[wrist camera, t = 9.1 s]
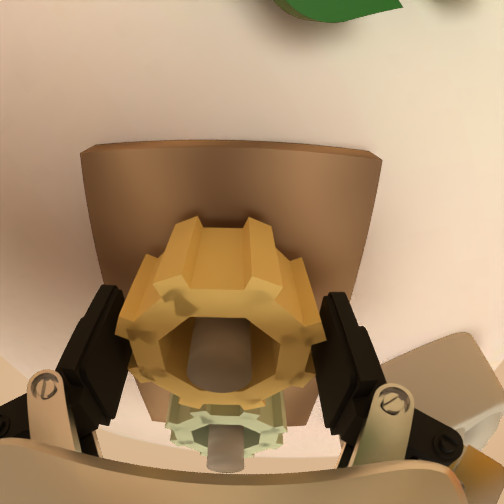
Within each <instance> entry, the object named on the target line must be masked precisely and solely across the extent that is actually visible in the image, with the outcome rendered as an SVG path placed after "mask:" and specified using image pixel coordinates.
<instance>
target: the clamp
mask: <svg viewBox="0 0 504 504" xmlns="http://www.w3.org/2000/svg"><path fill="white" fill-rule="evenodd" d="M273 1H274V2H275V3H276V4H277V5H278V6H279V7H280V8H281V9H282V10H284V11H285V12H287V13H288V14H290V15H292V16H295V17H297V18H300V19H304V20H310V21H320V22H330V23H337V22H344V21H348V20H352V19H355V18H359V17H363V16H367V15H371V14H375V13H379V12H383V11H388V10H393V9H398V8H403V6H402V5H401V3H400V2H399V0H273Z"/></svg>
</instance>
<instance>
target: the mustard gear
mask: <svg viewBox="0 0 504 504" xmlns="http://www.w3.org/2000/svg"><path fill="white" fill-rule="evenodd" d="M195 317H221V318H246V319H248V320H249V321H250V325H251V361H252V379H251V381H250V383H249V384H248V385H247V386H245V387H244V388H242V389H240V390H238V391H234V392H229V393H216V392H210V391H206V390H203V389H201V388H199V387H197V386H196V385H194V384H193V383H192V382H191V381H190V380H189V378H188V376H187V366H188V360H189V353H190V347H191V340H192V334H193V328H194V322H195ZM115 335H118V336H120V337H123V338H126V339H128V340H129V341H130V345H131V348H132V355H131V358H130V361H129V365H128V368H127V369H128V370H129V371H130V372H131V374H132V375H133V376H134V377H135V378H136V379H137V380H138V381H139V382H140V383H146V382H153V383H155V384H157V385H158V386H160V387H162V388H164V389H166V390H167V391H169V392H171V393H173V394H175V395H177V396H178V397H179V402H178V404H181V405H185V406H189V407H193V408H197V409H200V408H201V407H202V405H203V404H219V405H240V406H241V407H242V408H243V409H244V410H249V409H255V408H259V407H264V406H266V403H265V399H266V398H268V397H270V396H272V395H274V394H276V393H278V392H280V391H282V390H284V389H286V388H288V387H290V386H296V387H301V388H303V387H304V386H305V385H306V384H307V383H308V382H309V381H310V380H311V379H312V378H313V377H314V376H315V375H316V372H315V367H314V363H313V358H312V353H311V345H313V344H316V343H320V342H323V341H326V336H325V332H324V329H323V325H322V322H321V318H320V315H319V312H318V308H317V305H316V301H315V298H314V295H313V291H312V288H311V285H310V281H309V278H308V275H307V272H306V269H305V265H304V262H303V259H302V257H301V258H297V259H294V260H291V261H289V260H288V259H287V258H286V257H285V256H284V255H283V254H282V253H281V252H280V251H279V250H278V249H277V248H276V247H275V242H274V237H273V232H272V227H271V226H270V225H267V224H265V223H263V222H260V221H258V220H255V219H253V218H250V217H248V219H247V221H246V223H245V225H244V227H243V228H205V227H203V226H202V224H201V222H200V220H199V217H198V216H196V217H193V218H190V219H188V220H185V221H183V222H180V223H177V224H175V227H174V229H173V231H172V234H171V236H170V239H169V241H168V244H167V247H166V249H165V252H164V253H163V254H162V255H161V256H160V257H159V258H156V257H154V256H151V255H148V254H146V255H145V257H144V259H143V262H142V264H141V266H140V268H139V270H138V272H137V275H136V277H135V279H134V281H133V284H132V286H131V288H130V290H129V293H128V295H127V297H126V300H125V302H124V304H123V307H122V309H121V312H120V314H119V317H118V321H117V326H116V331H115Z"/></svg>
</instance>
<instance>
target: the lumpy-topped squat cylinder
mask: <svg viewBox="0 0 504 504" xmlns="http://www.w3.org/2000/svg"><path fill="white" fill-rule="evenodd" d="M381 368H382V371H383V374H384V376H385V379H386V382H387V384H389V383H394V384H399V385H401V386H404V387H405V388H406V389H408V390H409V391H410V393H411V394H412V395H413V398H414V405H415V406H414V408H416V409H418V410H420V411H421V412H423V413H425V414H427V415H429V416H431V417H432V418H434V419H436V420H438V421H440V422H442V423H444V424H445V425H447V426H449V427H451V428H453V429H454V430H456V431H457V432H458V433H459V434H460V435H461V437H462V440H463V445H465V446H468V445H471V446H472V447H474V448H475V449H477V450H479V451H481V450H482V449H483V448H484V447H485V446H486V444H487V442H488V440H489V439H490V438H491V436H492V435H493V434H494V433H495V431H496V429H497V427H498V424H499V422H500V419H501V417H502V416H503V415H504V390H503V388H502V386H501V384H500V382H499V380H498V378H497V377H496V375H495V373H494V371H493V370H492V368H491V366H490V365H489V363H488V361H487V360H486V358H485V356H484V355H483V353H482V351H481V350H480V348H479V346H478V345H477V343H476V342H475V340H474V338H473V337H472V335H471V334H469V333H466V332H459V333H454V334H451V335H448V336H445V337H443V338H440V339H438V340H436V341H433V342H431V343H428V344H426V345H423V346H421V347H418V348H416V349H414V350H412V351H409V352H407V353H405V354H403V355H401V356H398V357H396V358H394V359H392V360H390V361H388V362H386V363H384V364H382V365H381ZM339 439H340V434H339ZM340 444H341V449H342V447H343V445H344V441H342V440H341V439H340Z"/></svg>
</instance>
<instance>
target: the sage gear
mask: <svg viewBox="0 0 504 504" xmlns="http://www.w3.org/2000/svg"><path fill="white" fill-rule="evenodd" d="M178 402H179V397H178V396H177V395H175V394H173V393H170V399H169V405H168V411H167V417H166V424H165V428H167V429H171V438H170V441H171V442H173V443H174V444H175V445H177V446H186V447H189V448H191V449H194V450H197V451H199V452H200V455H204V456H207V451H208V435H209V424H223V425H242V426H244V458H247V457H254V453H257V452H260V451H263V450H266V449H277V448H279V447H280V446H281V445H283V435H282V433H285V432H287V422H286V413H285V403H284V394H283V390H282V391H280V392H278V393H276V394H274V395H272V396H270V397H268V398H266V399H265V403H266V406H264V407H259V408H255V409H249V410H244V409H243V408H242V407H241V406H240V405H219V404H203V405H202V407H201V408H200V409H197V408H193V407H189V406H185V405H181V404H178Z"/></svg>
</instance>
